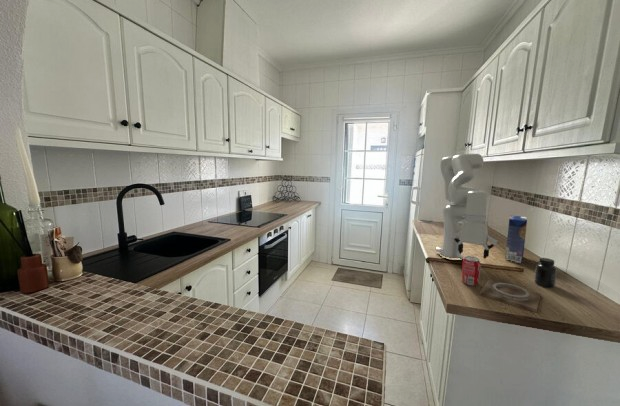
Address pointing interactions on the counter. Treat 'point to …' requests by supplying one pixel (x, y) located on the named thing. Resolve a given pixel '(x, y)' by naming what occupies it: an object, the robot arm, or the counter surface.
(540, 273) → the supplement bottle
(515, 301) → the locating board
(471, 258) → the soda can
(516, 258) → the juice carton
